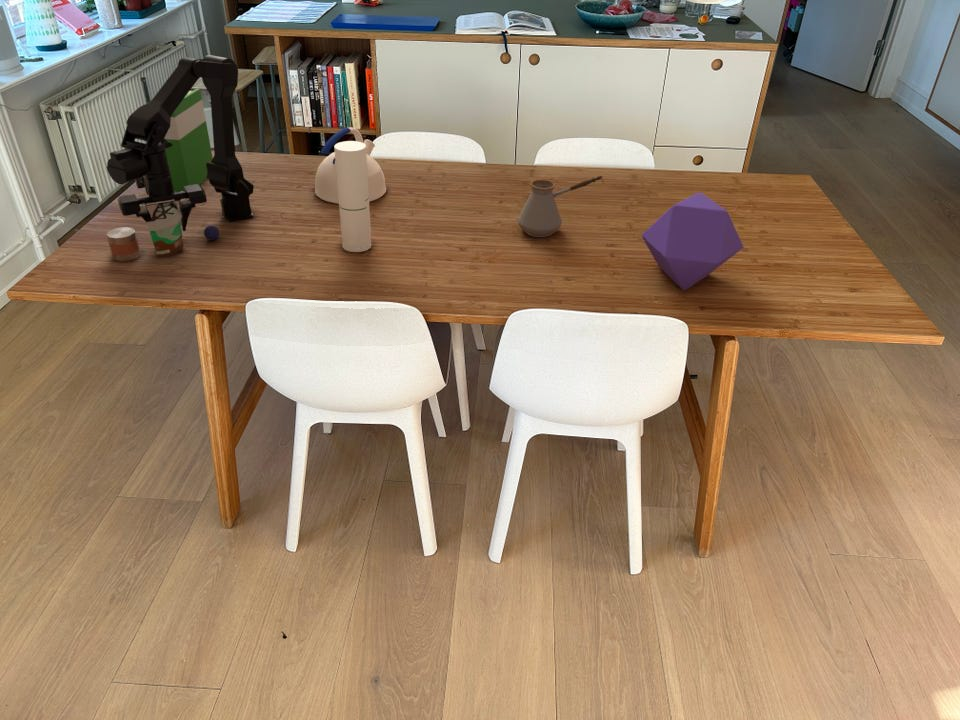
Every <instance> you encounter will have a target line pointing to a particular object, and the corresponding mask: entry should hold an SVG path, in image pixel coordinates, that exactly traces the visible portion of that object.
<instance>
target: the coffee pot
mask: <svg viewBox="0 0 960 720" xmlns="http://www.w3.org/2000/svg"><path fill="white" fill-rule="evenodd" d="M603 178H604V177H603V175H598V176H596V177H592V178H591V179H587V180H583V181H581V182H579V183H576V184H574V185H572V186H569V187H567V188H565V189H562V190H559V191H556V192H554V189H555V188H556V183H555V182H553V181H552V180H549V179H534V180H531V181H530V183H529V186H530V187H531V192H530V194H529V196H528V198H527V200H526V201H525V204H524V206H523V207H522V209H521V211H520V213H519V215H518V217H517V224H518V226H519V227H520V228H521V230H522V231H524V233H525V234H526V235H528V236H531V237H536V238H546V237H550V236H552V235H553V234H555V233H556V232H557V231H558V230H559V229H560V228H561V226H562V224H563V222H562V217H561V214H560V212H559V209H558V205H557V203H556V199H555V198H556V197H558V196H560V195H563V194H566V193H568V192H570V191H575V190H578V189H580V188H583V187H587V186H588V185H589V184H592V183H596V181H600V180H601V183H602V184H603V185H604V184H605V181H604V179H603ZM553 192H554V193H553Z"/></svg>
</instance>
